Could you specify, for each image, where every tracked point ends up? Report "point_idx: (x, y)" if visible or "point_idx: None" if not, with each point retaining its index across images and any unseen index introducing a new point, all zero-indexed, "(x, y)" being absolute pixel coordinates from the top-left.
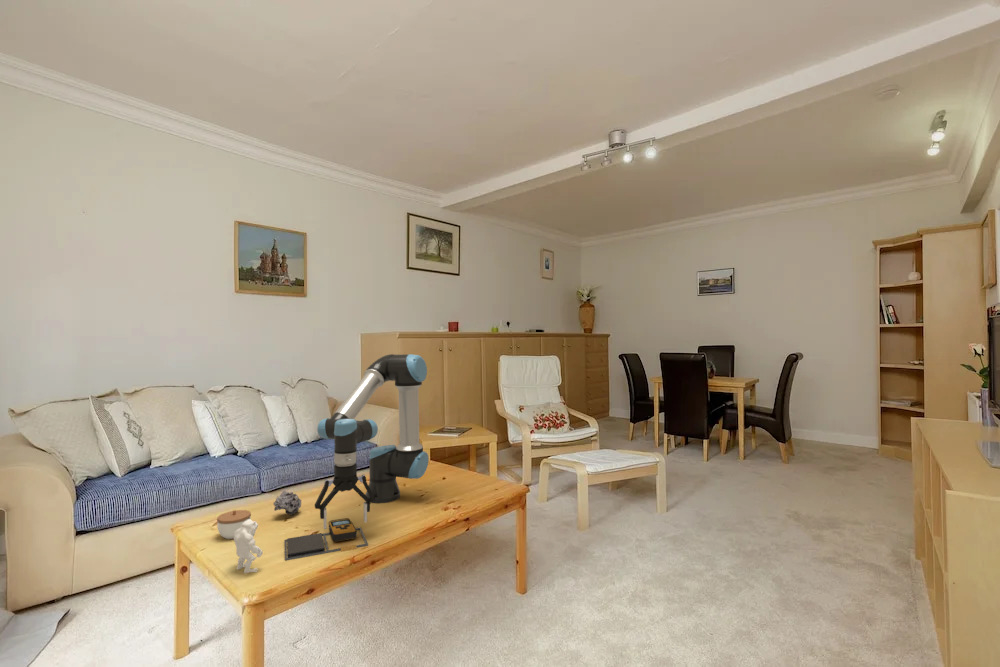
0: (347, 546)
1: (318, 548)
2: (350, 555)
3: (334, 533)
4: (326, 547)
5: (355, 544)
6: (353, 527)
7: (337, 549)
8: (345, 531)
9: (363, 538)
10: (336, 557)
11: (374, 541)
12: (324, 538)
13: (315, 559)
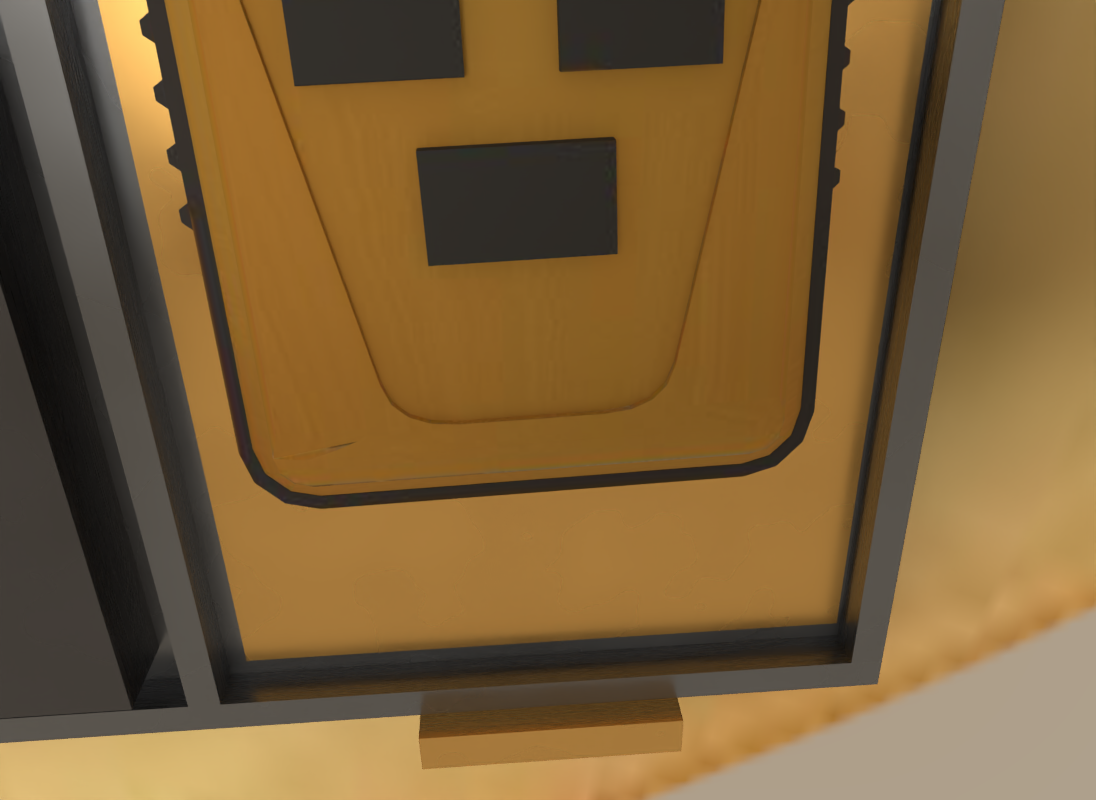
0: (533, 752)
1: (17, 712)
2: (558, 783)
3: (267, 461)
4: (164, 598)
5: (671, 727)
6: (793, 228)
7: (368, 715)
8: (545, 460)
9: (884, 401)
10: (360, 783)
11: (1028, 465)
12: (40, 130)
13: (48, 757)
